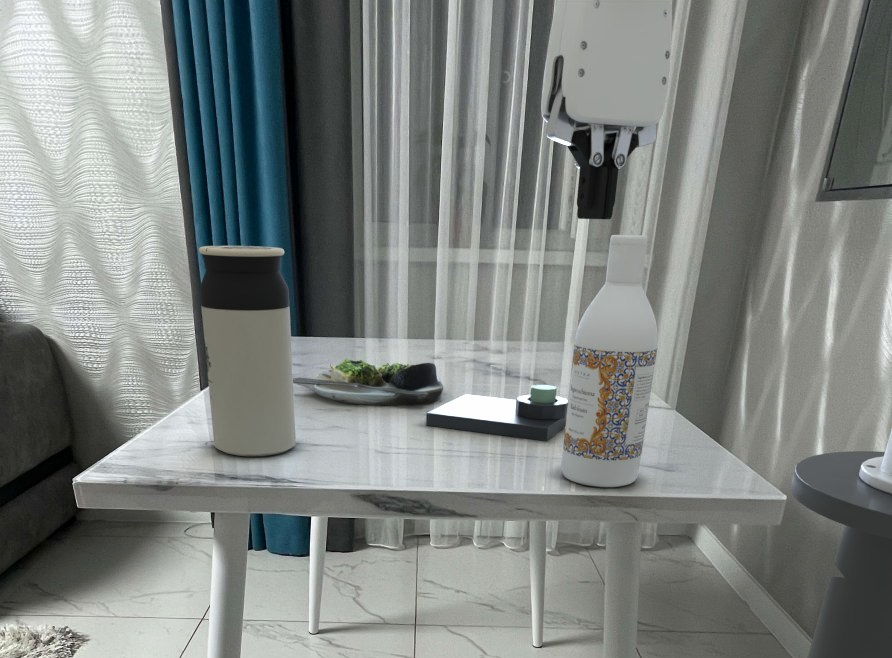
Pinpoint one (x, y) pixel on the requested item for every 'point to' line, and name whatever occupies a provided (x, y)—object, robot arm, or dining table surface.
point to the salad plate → (377, 383)
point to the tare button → (543, 393)
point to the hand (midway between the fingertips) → (594, 218)
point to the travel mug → (248, 349)
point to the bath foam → (612, 374)
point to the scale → (502, 416)
